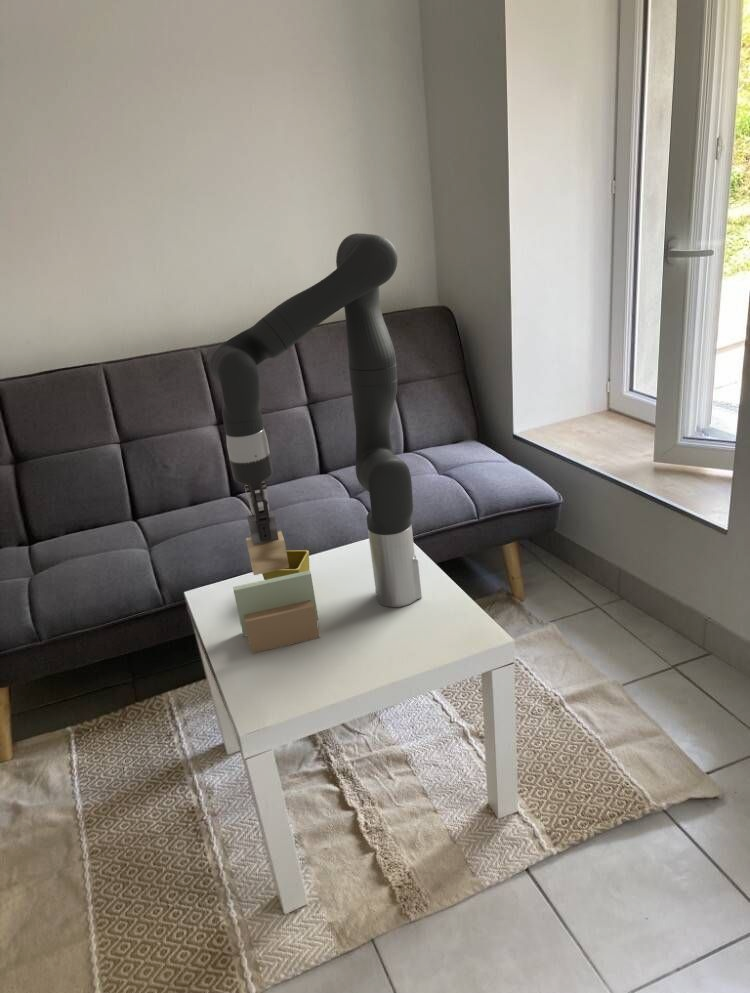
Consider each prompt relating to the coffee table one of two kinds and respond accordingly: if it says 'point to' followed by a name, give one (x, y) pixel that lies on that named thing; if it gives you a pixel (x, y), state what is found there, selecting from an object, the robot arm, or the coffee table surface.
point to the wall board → (277, 611)
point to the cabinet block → (266, 548)
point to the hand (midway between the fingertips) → (264, 536)
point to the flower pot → (292, 564)
